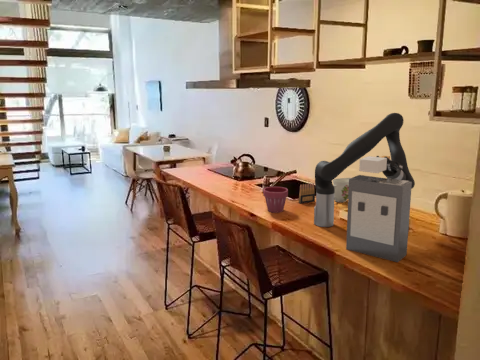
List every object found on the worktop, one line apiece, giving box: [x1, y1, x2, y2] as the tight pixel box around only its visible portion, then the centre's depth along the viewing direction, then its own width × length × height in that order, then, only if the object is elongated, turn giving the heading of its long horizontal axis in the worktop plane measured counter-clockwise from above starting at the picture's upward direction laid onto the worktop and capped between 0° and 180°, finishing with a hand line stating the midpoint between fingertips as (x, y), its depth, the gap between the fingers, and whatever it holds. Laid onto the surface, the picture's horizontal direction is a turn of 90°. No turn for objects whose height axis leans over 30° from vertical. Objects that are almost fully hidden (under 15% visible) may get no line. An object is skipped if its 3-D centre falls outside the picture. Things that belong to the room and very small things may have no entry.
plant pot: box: [263, 186, 289, 214], centre depth 246 cm, size 14×14×13 cm
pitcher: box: [332, 177, 351, 203], centre depth 263 cm, size 11×18×14 cm, turn 122°
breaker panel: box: [345, 174, 413, 263], centre depth 181 cm, size 23×11×32 cm, turn 49°
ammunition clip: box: [298, 182, 316, 204], centre depth 263 cm, size 11×2×12 cm, turn 114°
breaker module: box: [358, 155, 391, 174], centre depth 182 cm, size 8×19×5 cm, turn 140°
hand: (381, 158), depth 184 cm, fingers closed on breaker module, 3 cm apart
